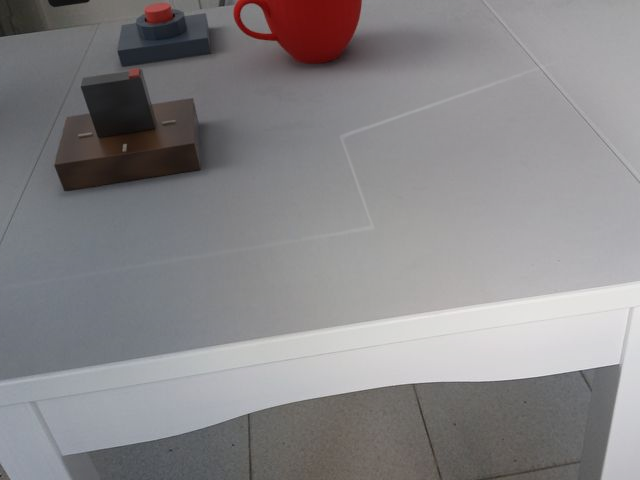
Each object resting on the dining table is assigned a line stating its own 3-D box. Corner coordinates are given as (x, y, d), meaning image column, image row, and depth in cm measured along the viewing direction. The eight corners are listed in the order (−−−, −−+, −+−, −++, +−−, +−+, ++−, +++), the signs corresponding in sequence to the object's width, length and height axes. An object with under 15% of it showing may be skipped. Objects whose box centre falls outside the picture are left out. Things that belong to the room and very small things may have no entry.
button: (146, 27, 97) (143, 13, 96) (147, 18, 100) (144, 4, 99) (173, 23, 98) (170, 9, 96) (173, 14, 100) (170, 0, 99)
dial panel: (64, 191, 74) (53, 163, 72) (75, 141, 82) (65, 115, 80) (200, 169, 75) (193, 141, 73) (198, 123, 83) (192, 96, 81)
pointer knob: (97, 137, 75) (79, 84, 71) (99, 128, 77) (81, 75, 73) (155, 129, 76) (140, 75, 72) (156, 120, 77) (141, 66, 73)
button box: (121, 67, 97) (112, 36, 94) (126, 40, 104) (117, 11, 102) (211, 54, 98) (204, 23, 95) (208, 28, 105) (203, -1, 102)
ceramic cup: (225, 60, 96) (209, -22, 89) (336, 27, 101) (329, -52, 94) (266, 92, 87) (252, 5, 81) (385, 55, 93) (381, -30, 86)
